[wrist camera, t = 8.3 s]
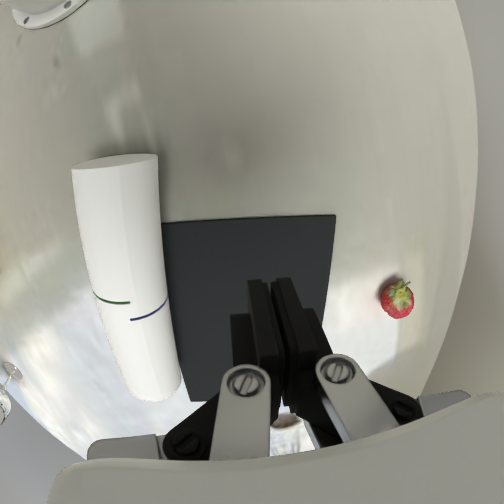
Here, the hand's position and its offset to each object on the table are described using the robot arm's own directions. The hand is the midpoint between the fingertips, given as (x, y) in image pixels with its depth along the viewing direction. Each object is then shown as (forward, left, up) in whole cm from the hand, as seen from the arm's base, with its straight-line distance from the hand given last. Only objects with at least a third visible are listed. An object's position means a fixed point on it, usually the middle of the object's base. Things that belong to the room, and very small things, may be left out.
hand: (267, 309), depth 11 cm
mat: (+15, -6, -16) cm, 23 cm away
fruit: (+19, +11, -16) cm, 27 cm away
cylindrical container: (-9, -7, -13) cm, 17 cm away
